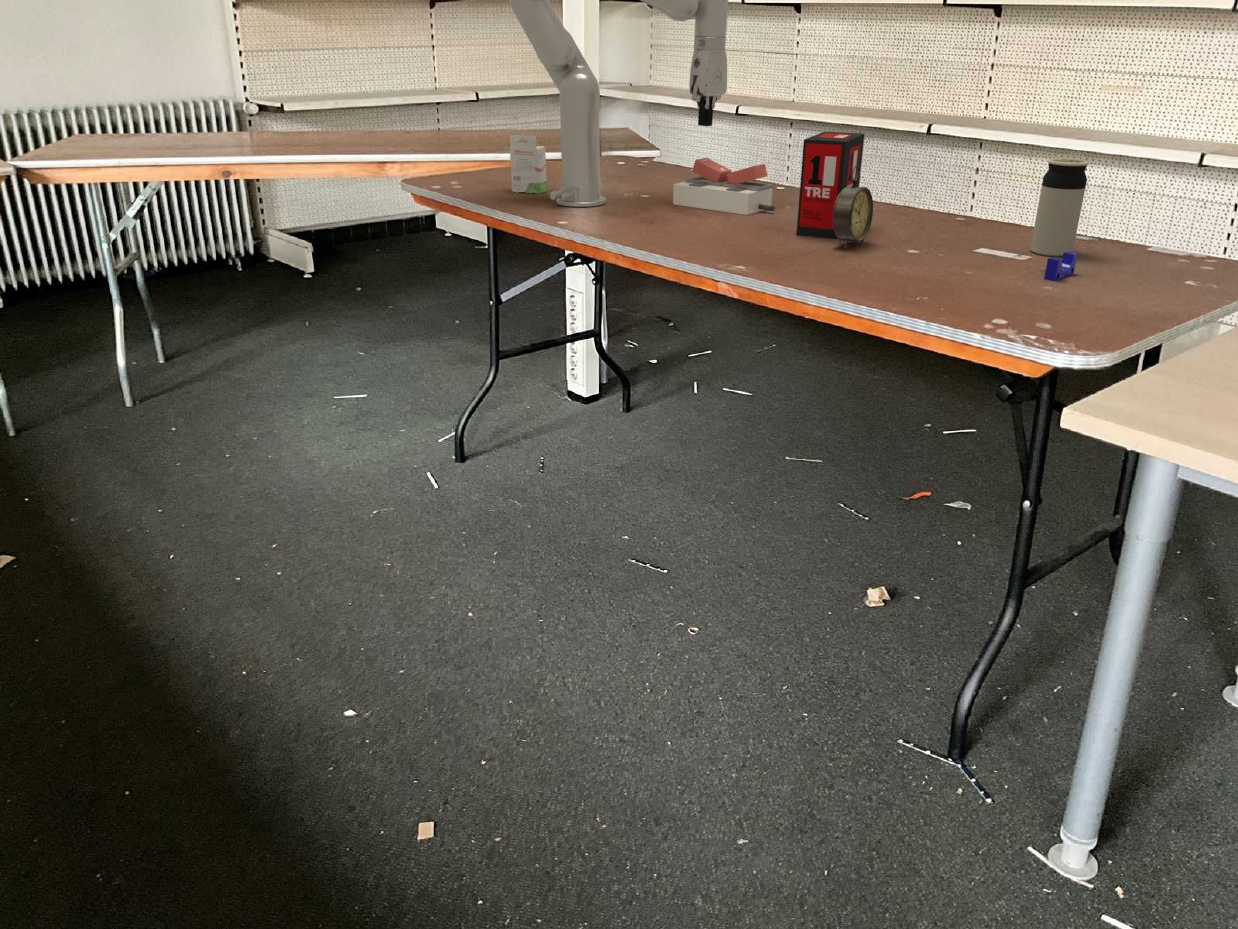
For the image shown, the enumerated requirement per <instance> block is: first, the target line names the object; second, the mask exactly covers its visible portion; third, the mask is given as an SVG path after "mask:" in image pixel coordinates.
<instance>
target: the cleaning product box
mask: <svg viewBox="0 0 1238 929" xmlns="http://www.w3.org/2000/svg"><path fill="white" fill-rule="evenodd" d="M865 136H866V135H865V133H862V132H861V133H859V132H858V133H857V132H841V131H823V132H819V133H817V134H815V135H814V134H813V135H812V136H809V137H805V138H804V139H803V146H802V159H801V169H800V170H801V171H800V172H801V173H800V184H799V185H800V186H799V198H798V208H797V223H796V232H795V233H796V234H795V235H796V236H801V237H809V236H812V237H813V238H821V239H831V240H837V239H839V238H838V237H837V236H836V234H835V232H834V229H833V209H834V204H835V201H836V199H837V196H838V195H839V193H840V192H841V191H842V190H843V189H844V188H845V187H849V186H852V184H853V182H852V171H853V168H854V167H855V165H858V166H859V175H858V179H857V182H856V183H857V187H860V182H861V181H860V180H861V171H862V162H863V161H862V160H863V150H864V142H865ZM857 174H858V168H857V167H856V168H855V170H854V173H853V179H856V178H857ZM812 237H811V238H812Z"/></svg>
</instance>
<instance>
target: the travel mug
mask: <svg viewBox="0 0 1238 929" xmlns="http://www.w3.org/2000/svg"><path fill="white" fill-rule="evenodd" d="M1047 163H1048V170H1047V171H1046V172H1045V174H1044V176H1042V177H1043V178H1042V182H1041V187H1040V194H1039V199H1038V205H1037V210H1036V215H1035V221H1034V228H1033V232H1032V238H1031V243H1030V247H1029V248H1030V251H1031V252H1033V253H1034V254H1037V255H1041V256H1046V257H1055V258H1059V257H1063V253H1065V252H1072V253H1074V249H1075V248H1074V246H1075V241H1076V237H1077V233H1078V227H1079V222H1080V217H1081V212H1082V207H1083V203H1084V198H1085V194H1086V193H1085V192H1086V188H1087V187H1086V186H1087V182H1088V178H1087V175H1086V169H1087V167H1088V165H1089V164H1090V162H1089V161H1088V160H1086V159H1079V158H1066V157H1055V158H1049V159H1047Z"/></svg>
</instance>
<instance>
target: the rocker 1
mask: <svg viewBox="0 0 1238 929" xmlns="http://www.w3.org/2000/svg"><path fill="white" fill-rule="evenodd" d="M692 172H693V173H695V174H697V175H698V176H702V177H704V178H706V179H708V180H710V181H711V182H717V183H721V182H725V181H728V177H727V173H731V172H733V171H732V170H731V169H729V168H728V167H725V166H724V165H722V164H720V163H718V162H716V161H714V160H712V159H710V158H708V157H703V158H697V159H695V161H694V164H693V167H692Z"/></svg>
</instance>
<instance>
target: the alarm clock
mask: <svg viewBox="0 0 1238 929" xmlns="http://www.w3.org/2000/svg"><path fill="white" fill-rule="evenodd" d="M856 167H857V168H858V174H857V178H856V179H853V173H854V170H855V168H856ZM858 175H859V166H858V165H855V167H854V168H853V171H852V182H853V184H852V186H849V187H845V188H844V189H843V190H842V191H841V192H840V193H839V195H838V196H837V199H836V201H835V204H834V209H833V229H834V232H835V234H836V236H837V237H838V238H837V239H838V240H839V242H838V244H840V243H842V241H843V242H844V243H843V247H842V250H846V249H847V246H848V244H849V242H856V243H859V242H862V243H863V242H864V239H865V238H866V236H867V235H868V233H869V231H870V228H871V226H872V223H873V214H874V199H873V195H872V192H871V190H870V189H869V188H868V187H866V186H859V187H857V183H856V182H857V179H858Z"/></svg>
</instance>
